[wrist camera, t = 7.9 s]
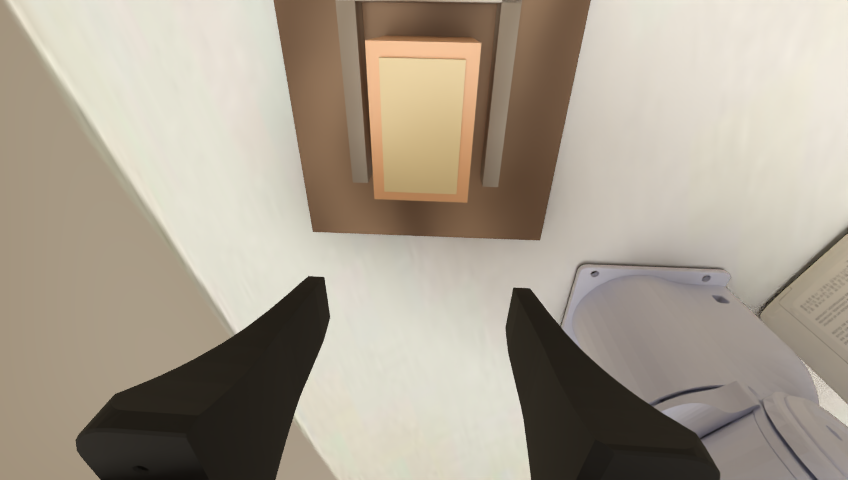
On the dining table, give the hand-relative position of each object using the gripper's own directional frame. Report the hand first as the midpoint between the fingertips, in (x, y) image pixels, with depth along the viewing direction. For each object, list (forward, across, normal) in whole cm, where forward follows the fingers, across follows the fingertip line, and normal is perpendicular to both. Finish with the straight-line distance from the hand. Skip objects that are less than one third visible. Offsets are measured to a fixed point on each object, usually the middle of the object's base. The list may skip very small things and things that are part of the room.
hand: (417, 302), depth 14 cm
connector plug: (+8, 0, -6) cm, 10 cm away
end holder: (+9, 0, -6) cm, 11 cm away
